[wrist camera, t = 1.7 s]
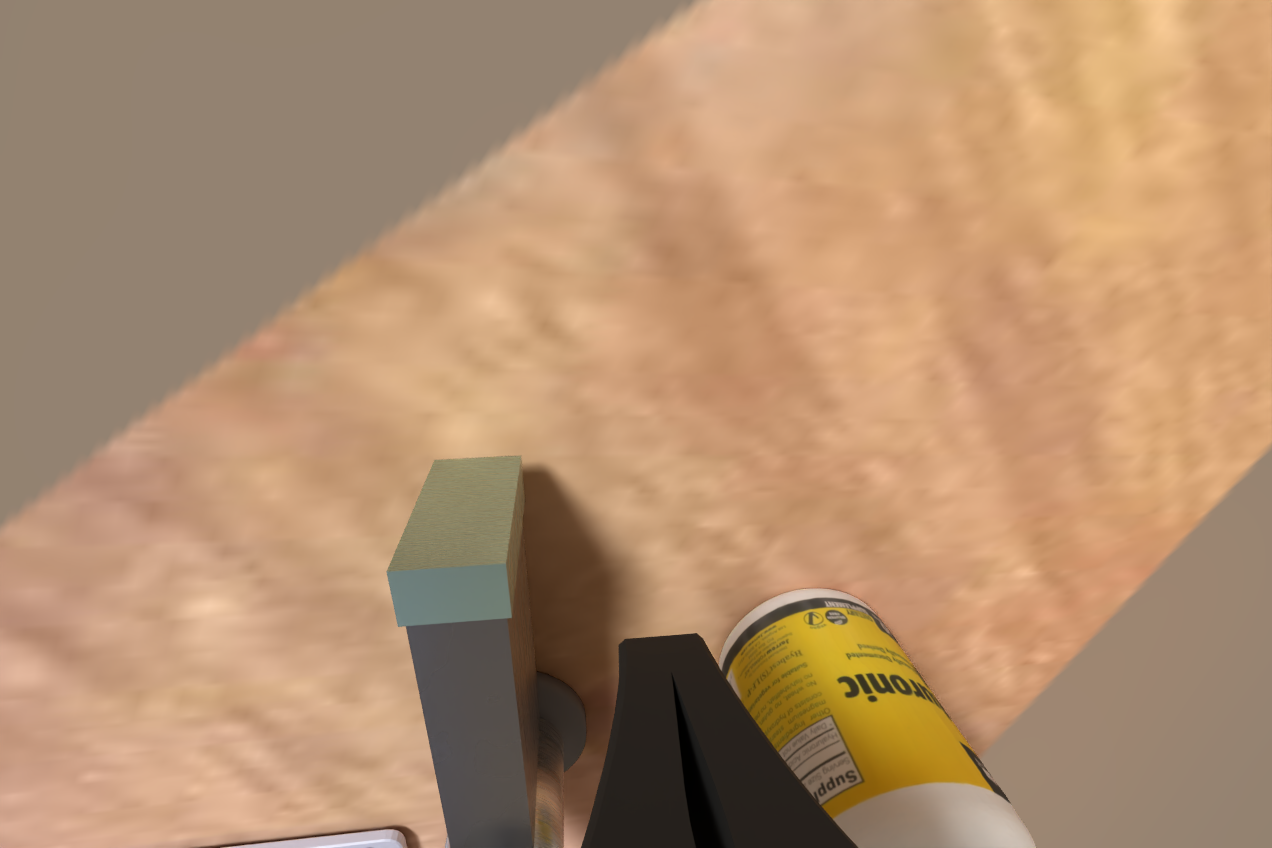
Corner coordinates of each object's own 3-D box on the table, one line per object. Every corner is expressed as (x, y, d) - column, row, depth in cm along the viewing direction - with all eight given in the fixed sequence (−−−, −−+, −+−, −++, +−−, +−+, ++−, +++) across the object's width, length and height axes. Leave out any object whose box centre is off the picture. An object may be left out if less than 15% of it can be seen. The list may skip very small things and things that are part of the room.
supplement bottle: (914, 628, 19) (1219, 1033, 10) (799, 733, 21) (979, 1169, 12) (797, 550, 17) (1042, 958, 9) (679, 670, 19) (784, 1129, 10)
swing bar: (565, 777, 19) (567, 973, 14) (468, 787, 19) (437, 991, 14) (542, 454, 14) (533, 591, 10) (412, 461, 14) (339, 605, 9)
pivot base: (452, 778, 20) (449, 795, 19) (434, 677, 18) (429, 693, 17) (588, 764, 20) (588, 781, 19) (583, 664, 18) (583, 679, 18)
